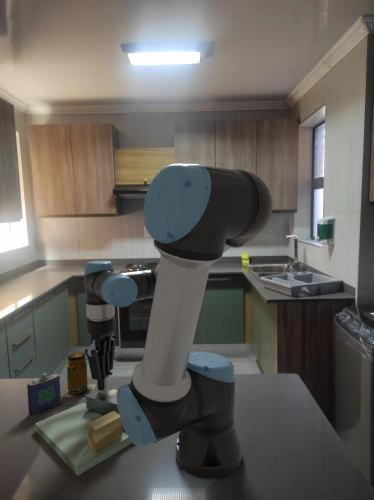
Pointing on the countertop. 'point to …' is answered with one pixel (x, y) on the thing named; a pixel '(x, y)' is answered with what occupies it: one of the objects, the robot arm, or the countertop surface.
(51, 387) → the flask
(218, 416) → the robot arm
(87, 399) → the latch bar
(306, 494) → the countertop surface
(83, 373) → the condiment
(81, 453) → the two-tone base plate
